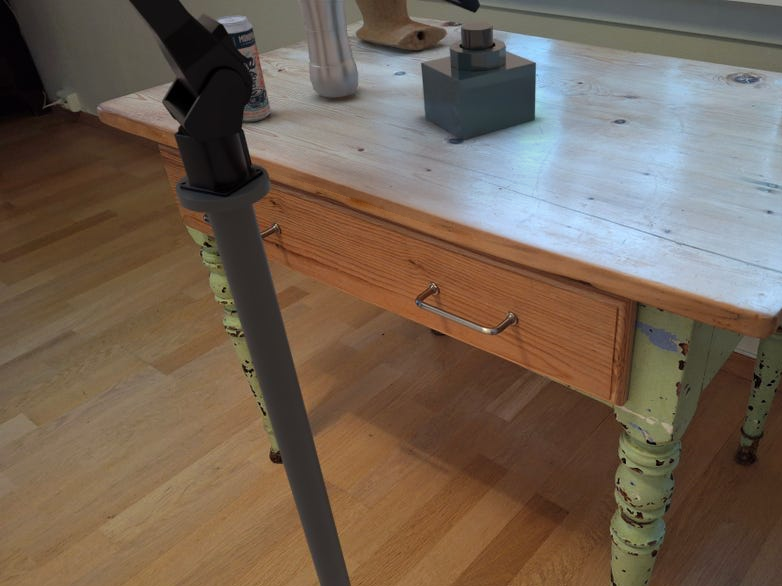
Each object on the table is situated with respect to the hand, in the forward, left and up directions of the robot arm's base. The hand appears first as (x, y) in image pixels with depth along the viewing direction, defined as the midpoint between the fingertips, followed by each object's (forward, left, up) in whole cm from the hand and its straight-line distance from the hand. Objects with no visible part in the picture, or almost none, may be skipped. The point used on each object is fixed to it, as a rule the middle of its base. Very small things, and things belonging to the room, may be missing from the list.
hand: (476, 8), depth 82 cm
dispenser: (0, 0, -13) cm, 13 cm away
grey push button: (0, 0, -4) cm, 4 cm away
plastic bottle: (+2, +23, -13) cm, 27 cm away
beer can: (-9, +29, -13) cm, 33 cm away
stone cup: (+27, +28, -13) cm, 41 cm away
